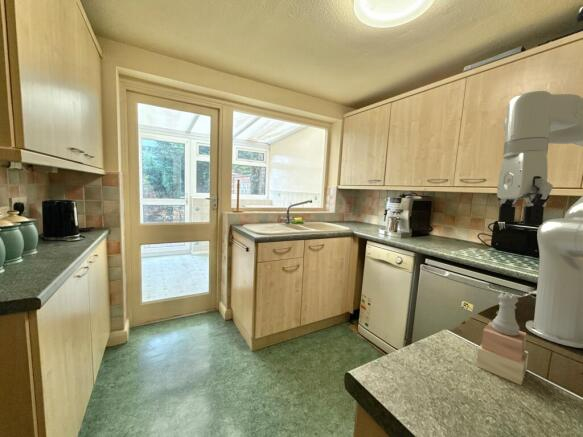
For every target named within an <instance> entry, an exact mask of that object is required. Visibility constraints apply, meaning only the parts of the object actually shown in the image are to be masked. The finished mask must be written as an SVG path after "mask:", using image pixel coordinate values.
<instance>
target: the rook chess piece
mask: <svg viewBox="0 0 583 437" xmlns="http://www.w3.org/2000/svg"><path fill="white" fill-rule="evenodd" d="M497 298H498V300H499V302H498V306H499V310H498V313H497V315H496V316H495V318H493V319H492V323H494V324H492V327H493V329H494V330H495V331H497V332H499V333H501V334H504V335H508V336H517V335H519V333H520V332H519V331H520V325H519V324H518V322H517V319H516V309H517V306H516V304H517V303H519V299H518V298H517V295H516V294H515V293H512V294H511V292H508V291H507V292H505V291H500V294H499V295H498V296H497Z"/></svg>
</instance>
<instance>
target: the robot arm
mask: <svg viewBox="0 0 583 437" xmlns="http://www.w3.org/2000/svg"><path fill="white" fill-rule="evenodd" d="M503 130H504V142H503V155H502V163H501V167H500V170H499V176H498V182H497V189H496V190H497V191H496V196H497V198H498V207H499V209H498V220H497V221H498V222H499V223H515V216H516V206H515V204H516V202H517V201H518V200H524V201H525V203H526V205H527V206H524V207H523V208H524V209H523V210H524V211H523V217H522V218H523V219H522V221H523V222H522V223H523V225H526V226H538V228H537V231H536V232H537V234H536V236H537V237H536V239H537V245H538V252H539V253H538V254H539V264H538V265H539V266H538V268H539V269H538V274H537V275H538V276H537V288H536V297H535V307H534V308H535V309H534V318H533V320H528V321H526V322H525V328H526V329H527V330H528V331H529V332H531V333H533V334H534V335H536V336H538V337H540V338H542V339H544V340H547V341H549V342H552V343H556V344H558V345H563V346H567V347H572V348H578V349H583V259H582V258H583V195H582V196H581V197H580V198H578V200H577V201H576V202H575V203H573V204H572V206H570V207H569V208H568V210H567V211H566V213H565V216H564V217H563V218H560V217H559V218H551V219H548V220H545V221H544V213H545V212H544V210H545V207H547V201H548V200H549V198H550V194H551V193H552V190H553V188H554V187H553V186H554V185H553V184H552V183H550V182H548V156H547V155H548V154H549V153H548V150H549V144H550V145H552V144H556V145H557V144H558V145H568V144H570V145H571V144H573V145H577V146H579V147H583V97H581V96H580V95H578V94H572V93H562V94H561V93H559V94H558V93H556V94H555V93H553V94H552V93H551V92H549V91H546V90H536V91H530V92H525V93H523V94H522V93H521V94H520V95H517V96H515V97H513V98H512V99H510V100H509V102H508V104H507V108H506V117H505V119H504V121H503Z"/></svg>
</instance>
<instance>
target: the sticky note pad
mask: <svg viewBox="0 0 583 437" xmlns="http://www.w3.org/2000/svg"><path fill="white" fill-rule="evenodd" d="M492 324H494V323H493V321H489V322H488V324H487V325H486V326H485V327H484V328H483V330H482V340H481V344H480V345H479V347H478V348H477V358H476V359H477V360H476V367H478V368H480V369H483V370H485V371H487V372H489V373H492V374H494V375H496V376H497V377H501V378H503V379H505V380H507V381H510V382H513V383H515V384H517V385H520V386H522V384H523V382H522V381H524V379H525V376H526V373H525V372H527V370H528V368H527V367H528V360H529V359H528V358H529V351H527V350H526V342H527V341H526V340H527V332H524V331H521V330H518V331H519V332H520V333H519V335H517V336H508V335H504V334H501V333H499V332H497V331H495V330H494V329H493V327H492ZM524 375H525V376H524ZM523 378H524V379H523Z"/></svg>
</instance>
